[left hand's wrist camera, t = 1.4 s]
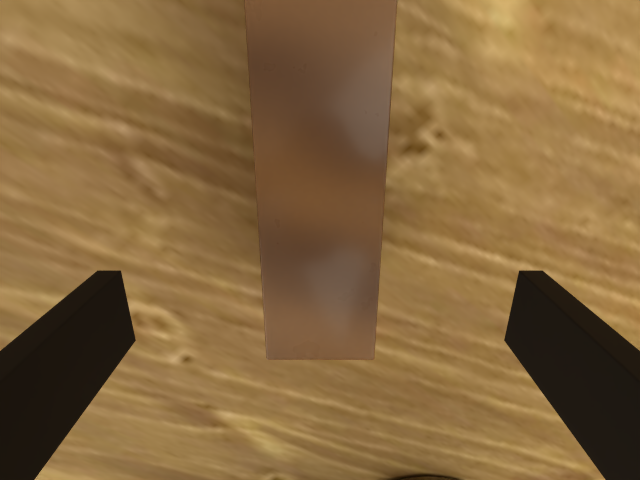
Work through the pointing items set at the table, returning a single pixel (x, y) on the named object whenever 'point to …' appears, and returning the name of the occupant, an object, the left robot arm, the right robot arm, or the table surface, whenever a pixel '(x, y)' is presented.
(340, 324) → the beam
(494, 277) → the table surface
